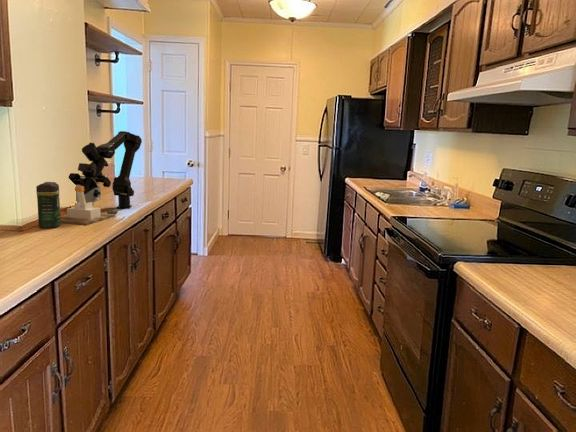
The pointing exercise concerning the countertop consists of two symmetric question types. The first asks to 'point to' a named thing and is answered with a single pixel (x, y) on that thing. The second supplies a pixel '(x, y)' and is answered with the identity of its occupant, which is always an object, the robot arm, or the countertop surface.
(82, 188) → the lever
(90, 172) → the robot arm
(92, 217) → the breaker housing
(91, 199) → the circuit breaker
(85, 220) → the mounting board
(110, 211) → the twin rounded prongs
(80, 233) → the countertop surface
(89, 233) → the countertop surface
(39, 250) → the countertop surface
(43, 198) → the coffee jar
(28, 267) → the countertop surface
